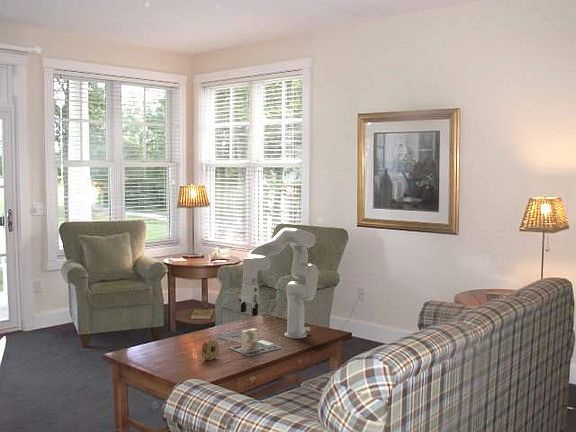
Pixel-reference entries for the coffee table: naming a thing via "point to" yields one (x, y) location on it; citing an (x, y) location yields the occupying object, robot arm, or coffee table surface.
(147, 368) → the coffee table surface
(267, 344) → the upper offcut
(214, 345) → the tan rounded piece
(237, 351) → the rack
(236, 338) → the picture frame
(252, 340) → the birch board
